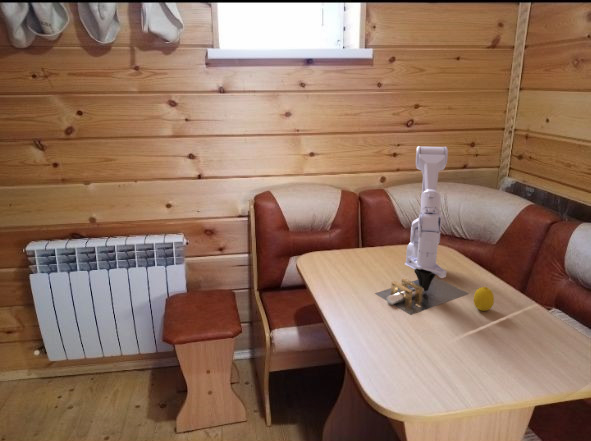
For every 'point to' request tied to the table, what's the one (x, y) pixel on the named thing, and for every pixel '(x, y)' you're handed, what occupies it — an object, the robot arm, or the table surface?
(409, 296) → the plate
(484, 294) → the lemon
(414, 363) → the table surface
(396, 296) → the tube
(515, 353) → the table surface
